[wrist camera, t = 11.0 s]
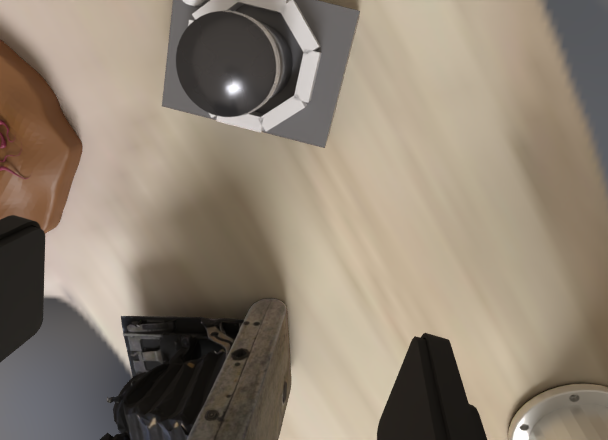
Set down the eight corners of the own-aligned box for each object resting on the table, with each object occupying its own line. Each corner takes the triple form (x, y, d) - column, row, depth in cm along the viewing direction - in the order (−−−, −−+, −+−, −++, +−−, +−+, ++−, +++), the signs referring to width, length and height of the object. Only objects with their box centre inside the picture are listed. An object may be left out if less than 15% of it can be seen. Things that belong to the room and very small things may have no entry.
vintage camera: (139, 287, 43) (-30, 464, 25) (291, 295, 41) (226, 496, 23) (155, 365, 47) (17, 568, 29) (295, 376, 45) (242, 605, 27)
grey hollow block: (359, 16, 32) (359, 8, 26) (328, 135, 35) (323, 152, 29) (202, -23, 32) (167, -40, 26) (187, 99, 36) (152, 108, 30)
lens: (301, 30, 28) (284, 22, 21) (285, 110, 30) (265, 129, 23) (223, 11, 28) (179, -3, 21) (212, 92, 30) (169, 106, 23)
